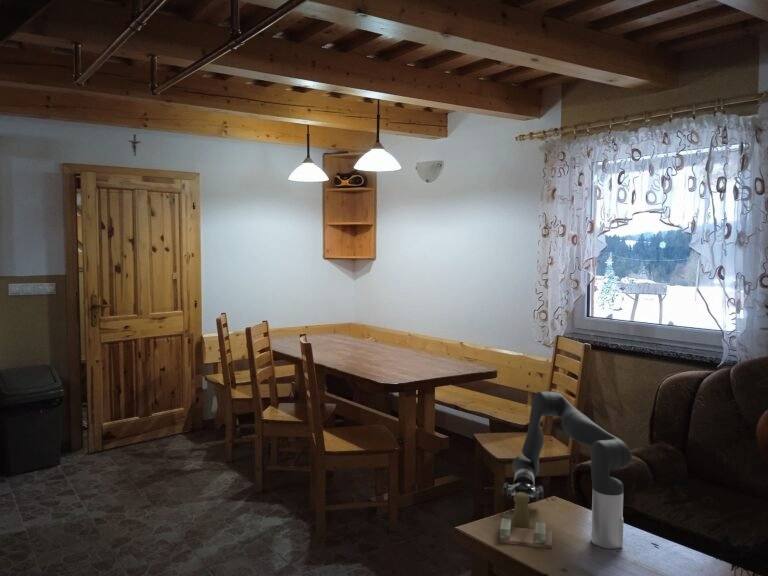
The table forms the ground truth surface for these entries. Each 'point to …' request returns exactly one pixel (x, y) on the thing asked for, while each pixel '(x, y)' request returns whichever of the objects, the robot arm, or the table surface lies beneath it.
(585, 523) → the table surface
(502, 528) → the endcap cradle
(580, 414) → the robot arm
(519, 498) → the cork
